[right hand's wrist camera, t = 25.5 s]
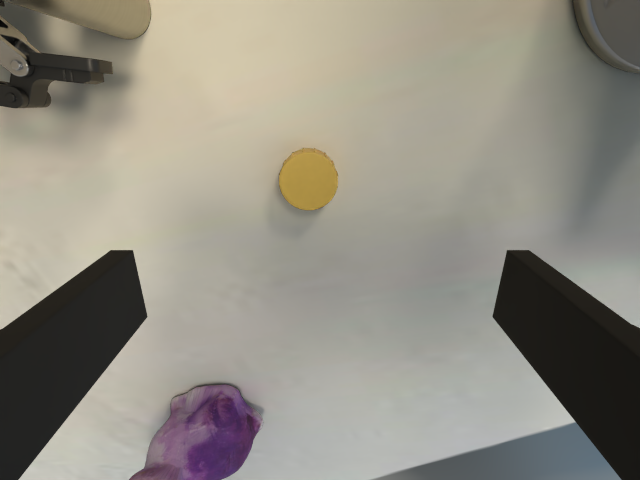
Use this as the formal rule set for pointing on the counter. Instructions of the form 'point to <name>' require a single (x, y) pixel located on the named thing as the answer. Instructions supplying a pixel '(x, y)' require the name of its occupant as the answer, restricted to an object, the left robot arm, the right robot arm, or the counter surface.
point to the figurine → (202, 436)
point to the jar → (97, 14)
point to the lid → (308, 179)
